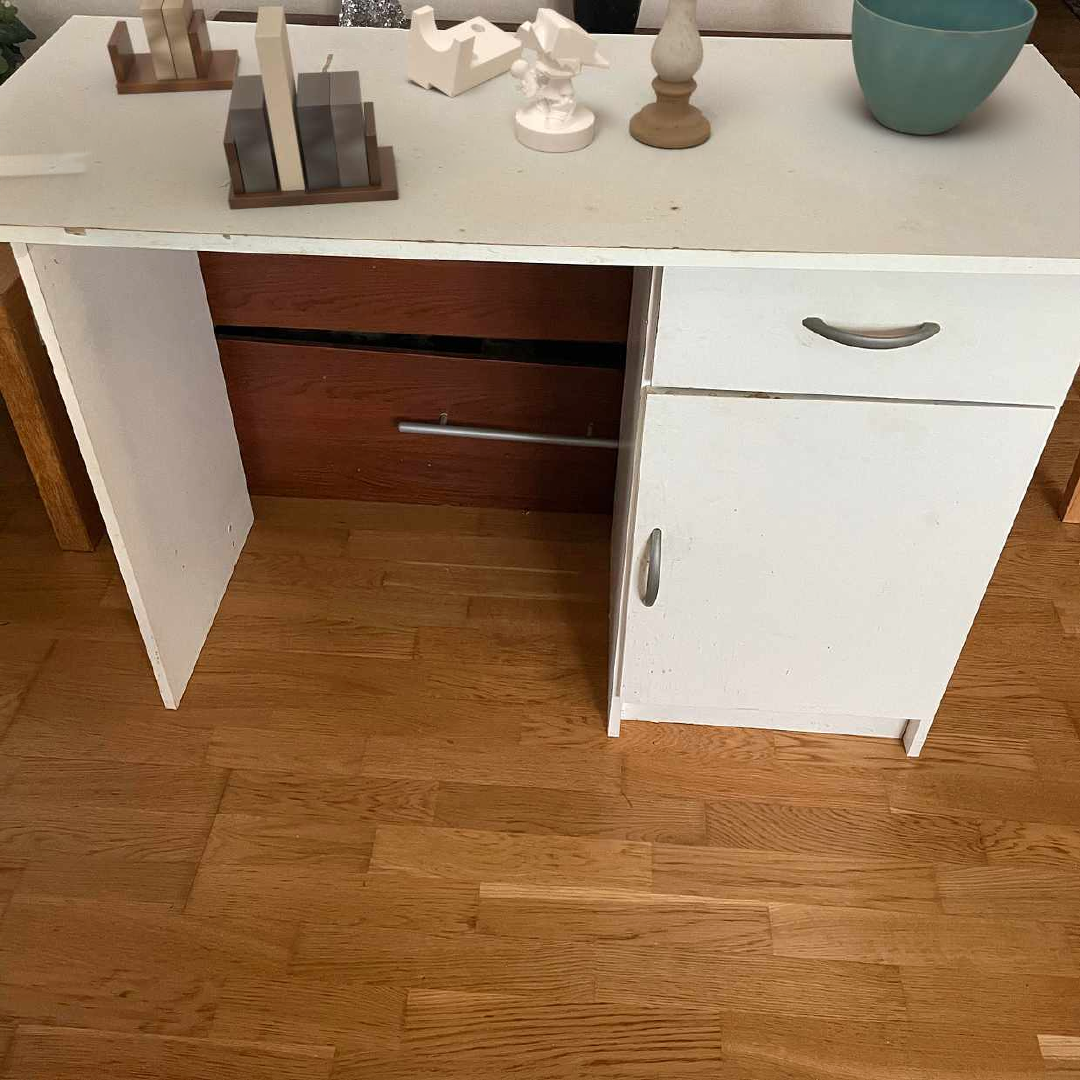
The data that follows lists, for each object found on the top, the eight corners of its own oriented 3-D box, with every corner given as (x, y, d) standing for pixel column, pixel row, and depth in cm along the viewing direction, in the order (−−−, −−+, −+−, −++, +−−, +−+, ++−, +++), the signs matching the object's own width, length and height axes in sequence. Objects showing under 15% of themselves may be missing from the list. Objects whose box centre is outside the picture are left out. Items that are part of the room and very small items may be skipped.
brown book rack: (118, 94, 116) (95, 13, 110) (129, 62, 123) (109, -16, 117) (233, 89, 118) (218, 9, 111) (239, 57, 125) (224, -19, 118)
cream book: (281, 191, 97) (254, 37, 87) (284, 155, 103) (258, 6, 93) (305, 190, 97) (280, 36, 88) (306, 154, 103) (283, 5, 93)
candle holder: (705, 117, 113) (732, -92, 99) (713, 150, 107) (742, -67, 93) (627, 115, 113) (642, -93, 99) (630, 149, 107) (647, -69, 93)
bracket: (450, 105, 117) (460, 42, 111) (404, 74, 119) (412, 11, 113) (518, 71, 125) (531, 11, 119) (474, 43, 126) (485, -18, 120)
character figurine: (504, 124, 111) (502, 6, 103) (583, 112, 114) (588, -4, 105) (532, 157, 105) (533, 35, 97) (615, 144, 108) (623, 23, 100)
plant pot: (802, 125, 112) (825, 5, 103) (870, 76, 122) (896, -36, 114) (962, 170, 104) (1001, 45, 96) (1020, 114, 115) (1060, -3, 106)
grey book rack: (230, 209, 97) (209, 114, 90) (236, 163, 104) (217, 72, 97) (398, 199, 98) (389, 105, 92) (393, 155, 105) (385, 65, 99)
